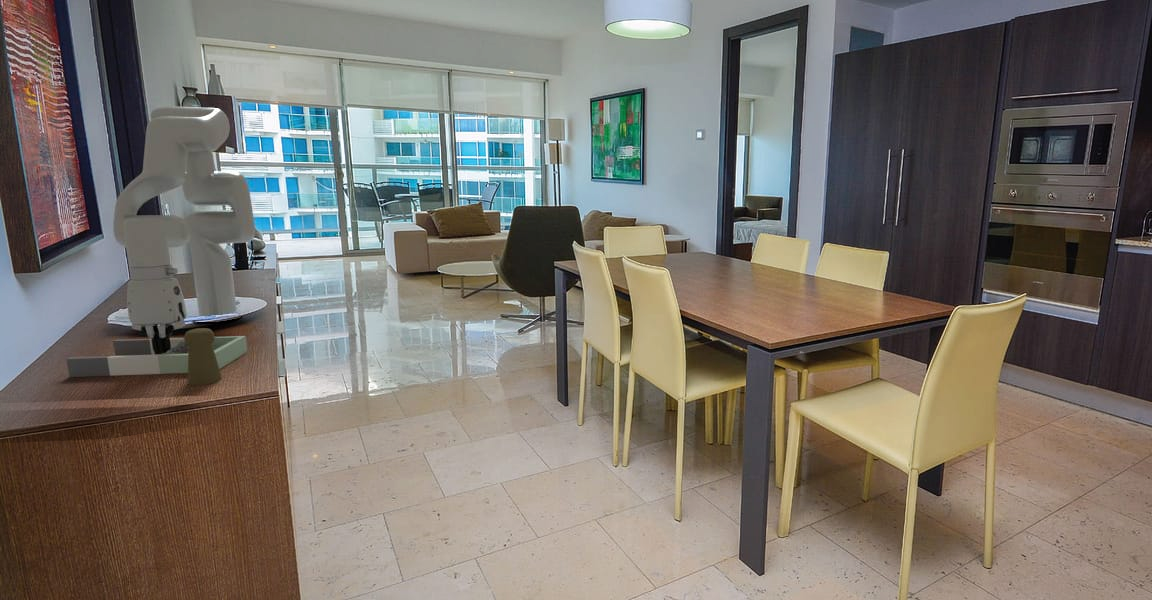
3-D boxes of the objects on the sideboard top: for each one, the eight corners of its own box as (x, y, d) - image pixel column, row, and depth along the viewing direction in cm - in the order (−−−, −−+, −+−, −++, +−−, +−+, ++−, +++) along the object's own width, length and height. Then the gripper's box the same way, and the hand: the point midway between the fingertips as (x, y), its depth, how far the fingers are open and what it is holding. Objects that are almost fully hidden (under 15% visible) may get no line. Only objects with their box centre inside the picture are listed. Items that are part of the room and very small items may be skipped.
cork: (221, 382, 120) (215, 330, 118) (186, 387, 117) (179, 334, 115) (222, 374, 125) (216, 324, 123) (188, 379, 122) (181, 327, 120)
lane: (118, 355, 139) (116, 339, 138) (247, 351, 142) (245, 335, 142) (69, 377, 124) (66, 358, 123) (215, 371, 127) (213, 354, 126)
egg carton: (197, 366, 128) (193, 349, 127) (160, 370, 127) (155, 353, 126) (217, 351, 138) (214, 335, 137) (183, 355, 137) (179, 338, 136)
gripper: (196, 270, 133) (206, 348, 137) (125, 272, 132) (137, 350, 135) (178, 275, 126) (189, 357, 130) (103, 277, 124) (116, 359, 128)
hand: (162, 353), depth 132 cm, fingers closed
